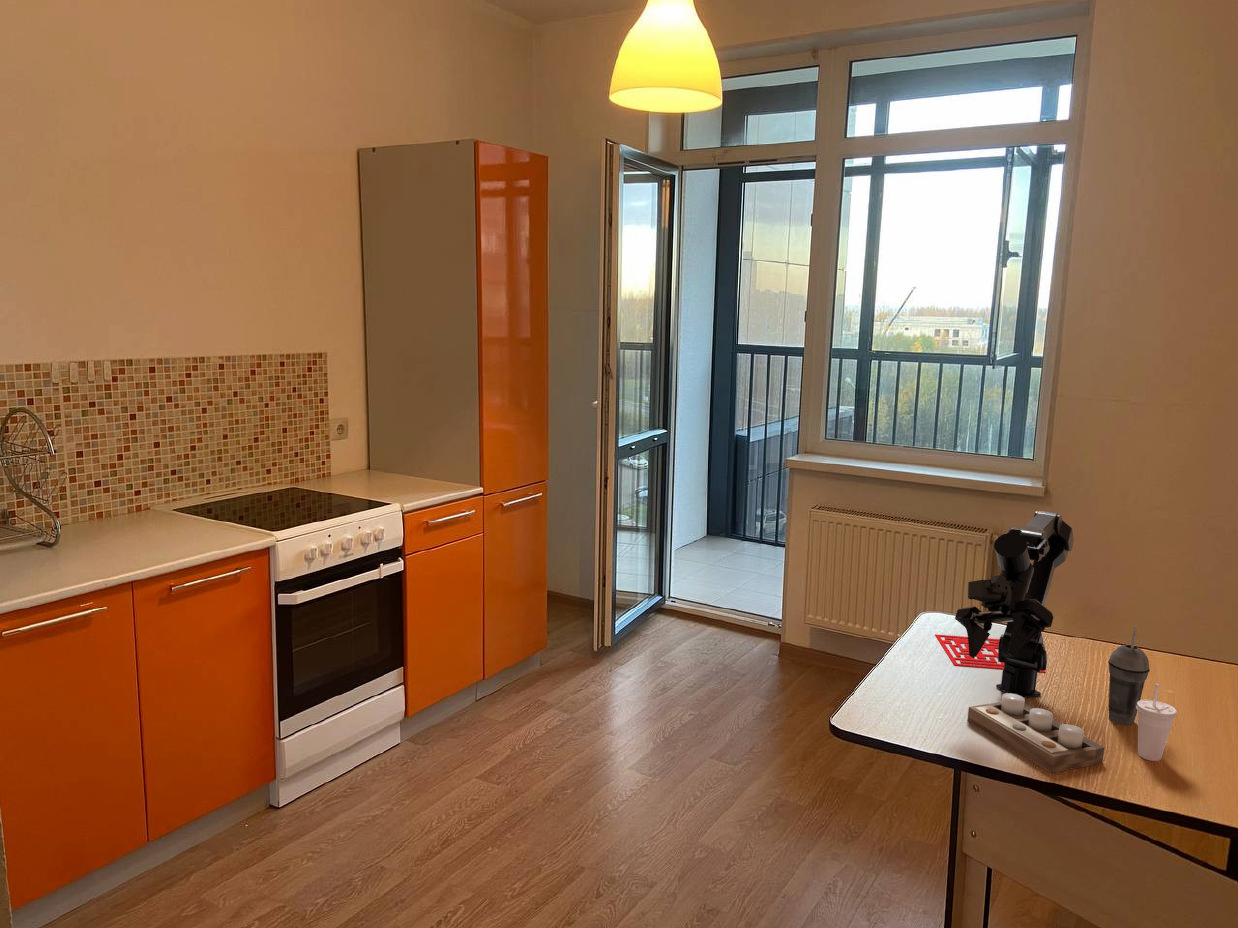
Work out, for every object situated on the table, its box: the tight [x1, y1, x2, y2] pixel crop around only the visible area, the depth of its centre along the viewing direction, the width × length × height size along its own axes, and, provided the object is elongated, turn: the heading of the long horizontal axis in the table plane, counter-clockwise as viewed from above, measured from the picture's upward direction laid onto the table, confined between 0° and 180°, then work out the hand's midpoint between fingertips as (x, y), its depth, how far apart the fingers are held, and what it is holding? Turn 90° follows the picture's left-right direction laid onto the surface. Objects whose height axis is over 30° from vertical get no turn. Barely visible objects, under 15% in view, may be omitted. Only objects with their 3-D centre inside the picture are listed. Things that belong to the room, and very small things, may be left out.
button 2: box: [1057, 723, 1085, 750], centre depth 165 cm, size 4×4×3 cm
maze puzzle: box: [934, 633, 1047, 674], centre depth 216 cm, size 20×20×1 cm
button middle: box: [1028, 707, 1054, 732], centre depth 172 cm, size 4×4×3 cm
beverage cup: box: [1107, 625, 1151, 726], centre depth 181 cm, size 7×7×20 cm
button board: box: [966, 701, 1105, 774], centre depth 171 cm, size 12×21×3 cm, turn 21°
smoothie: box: [1136, 683, 1178, 762], centre depth 166 cm, size 6×6×14 cm
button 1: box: [1001, 692, 1026, 716], centre depth 178 cm, size 4×4×3 cm
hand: (990, 655), depth 170 cm, fingers open, 9 cm apart
